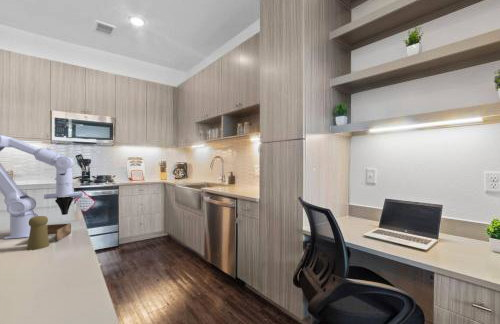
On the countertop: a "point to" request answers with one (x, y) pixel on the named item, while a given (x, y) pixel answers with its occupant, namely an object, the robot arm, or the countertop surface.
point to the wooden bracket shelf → (59, 230)
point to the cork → (38, 233)
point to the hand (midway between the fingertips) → (64, 214)
